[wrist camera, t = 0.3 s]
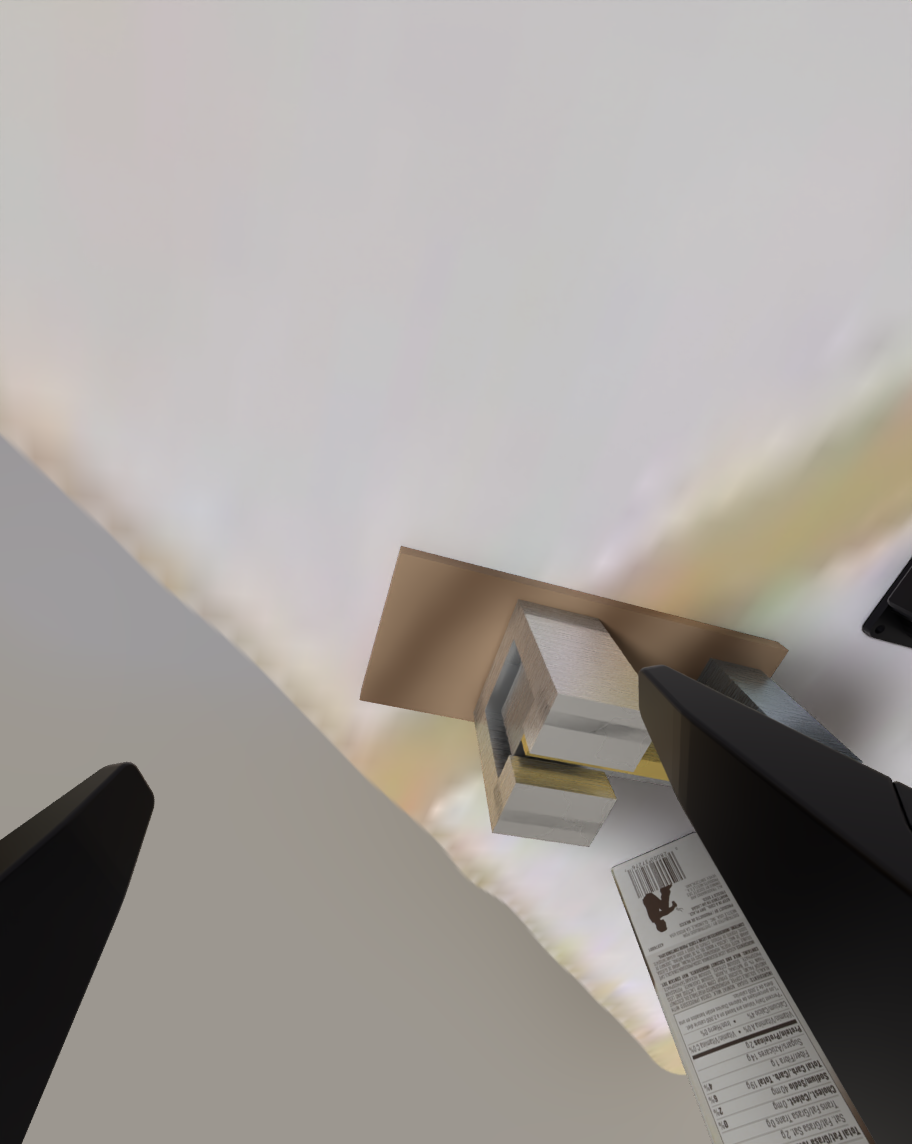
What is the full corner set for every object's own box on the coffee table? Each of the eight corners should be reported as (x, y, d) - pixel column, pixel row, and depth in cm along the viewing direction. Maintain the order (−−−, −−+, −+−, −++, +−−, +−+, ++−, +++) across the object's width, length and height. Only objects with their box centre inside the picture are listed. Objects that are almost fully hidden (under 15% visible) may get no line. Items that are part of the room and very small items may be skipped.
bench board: (777, 641, 25) (788, 650, 24) (702, 755, 28) (710, 766, 27) (400, 546, 21) (400, 552, 20) (361, 689, 24) (359, 700, 23)
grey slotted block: (473, 712, 24) (492, 832, 18) (518, 599, 21) (558, 693, 15) (546, 726, 24) (588, 847, 18) (598, 618, 22) (666, 716, 16)
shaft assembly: (486, 701, 24) (509, 814, 18) (522, 612, 22) (561, 706, 16) (710, 745, 26) (796, 859, 20) (760, 669, 24) (871, 770, 18)
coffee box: (738, 899, 34) (986, 1318, 19) (654, 934, 35) (829, 1358, 20) (697, 827, 30) (965, 1272, 15) (606, 867, 31) (775, 1323, 16)
